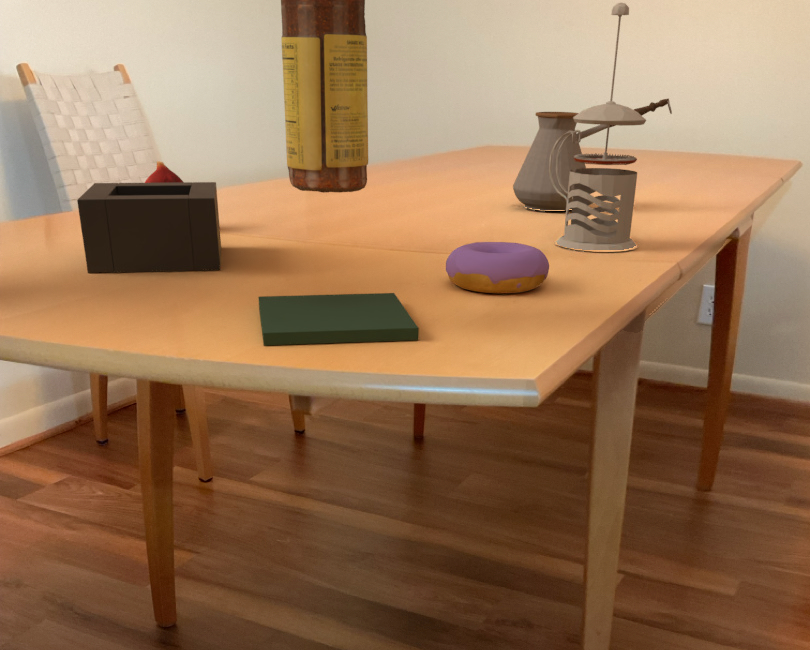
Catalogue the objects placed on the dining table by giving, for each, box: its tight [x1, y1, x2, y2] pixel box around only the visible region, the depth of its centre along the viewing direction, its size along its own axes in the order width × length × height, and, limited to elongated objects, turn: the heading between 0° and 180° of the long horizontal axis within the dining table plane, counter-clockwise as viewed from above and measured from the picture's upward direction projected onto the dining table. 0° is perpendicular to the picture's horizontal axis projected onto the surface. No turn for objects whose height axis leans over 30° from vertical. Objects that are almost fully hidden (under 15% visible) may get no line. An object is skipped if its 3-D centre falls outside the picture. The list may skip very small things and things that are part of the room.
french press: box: [549, 2, 647, 250], centre depth 104 cm, size 10×12×25 cm
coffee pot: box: [512, 97, 673, 210], centre depth 131 cm, size 21×12×15 cm, turn 80°
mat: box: [258, 292, 420, 346], centre depth 75 cm, size 12×12×1 cm
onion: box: [144, 160, 184, 183], centre depth 113 cm, size 6×6×8 cm
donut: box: [445, 241, 550, 294], centre depth 88 cm, size 10×9×5 cm
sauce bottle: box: [280, 0, 369, 193], centre depth 66 cm, size 7×6×20 cm
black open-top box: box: [76, 181, 222, 274], centre depth 97 cm, size 13×13×7 cm
